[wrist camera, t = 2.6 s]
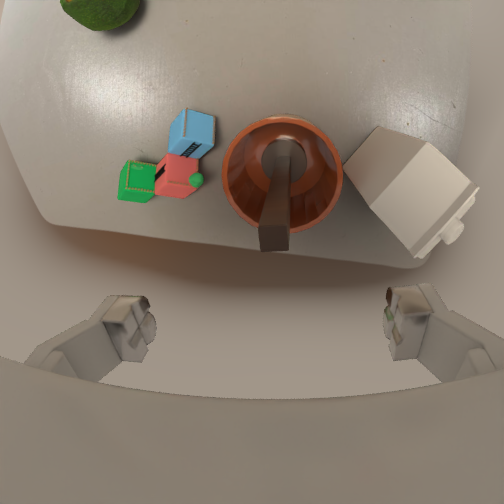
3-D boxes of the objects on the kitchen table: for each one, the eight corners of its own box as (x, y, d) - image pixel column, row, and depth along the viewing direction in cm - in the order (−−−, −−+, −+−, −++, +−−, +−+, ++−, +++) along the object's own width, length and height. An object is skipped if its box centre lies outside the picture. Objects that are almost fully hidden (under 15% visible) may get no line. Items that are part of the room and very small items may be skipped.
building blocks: (176, 155, 42) (217, 115, 33) (172, 209, 41) (215, 180, 31) (123, 145, 38) (152, 97, 28) (116, 202, 36) (142, 166, 27)
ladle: (304, 135, 34) (323, 185, 14) (307, 176, 36) (326, 280, 16) (261, 139, 35) (214, 193, 14) (265, 179, 37) (230, 284, 17)
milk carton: (340, 167, 36) (382, 227, 19) (377, 125, 33) (451, 150, 16) (380, 203, 37) (439, 284, 20) (416, 164, 34) (500, 219, 17)
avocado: (92, 14, 29) (36, 1, 18) (133, -24, 26) (84, -51, 15) (118, 46, 31) (62, 36, 20) (162, 6, 28) (116, -21, 18)
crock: (325, 111, 33) (339, 113, 23) (330, 196, 38) (344, 230, 28) (235, 118, 35) (213, 124, 25) (246, 201, 39) (230, 236, 30)
